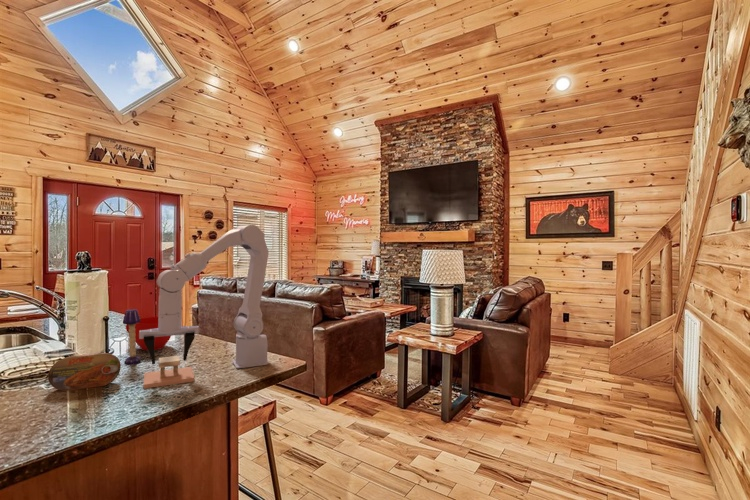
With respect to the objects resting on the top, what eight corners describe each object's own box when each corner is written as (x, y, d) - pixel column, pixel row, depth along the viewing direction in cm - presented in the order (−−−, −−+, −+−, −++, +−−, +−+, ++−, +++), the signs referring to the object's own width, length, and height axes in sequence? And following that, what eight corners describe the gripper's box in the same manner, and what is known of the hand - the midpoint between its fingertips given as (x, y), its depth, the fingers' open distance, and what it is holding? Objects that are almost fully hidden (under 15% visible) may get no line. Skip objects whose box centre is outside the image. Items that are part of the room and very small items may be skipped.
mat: (191, 370, 113) (191, 366, 113) (194, 381, 104) (194, 377, 104) (144, 376, 107) (144, 372, 107) (143, 388, 98) (143, 384, 98)
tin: (47, 393, 94) (47, 359, 93) (51, 388, 96) (51, 356, 96) (119, 384, 101) (120, 353, 100) (121, 380, 103) (121, 349, 103)
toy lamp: (131, 365, 115) (132, 311, 115) (118, 364, 116) (119, 310, 115) (143, 361, 120) (144, 308, 119) (131, 359, 120) (132, 308, 120)
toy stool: (178, 371, 109) (178, 355, 109) (179, 376, 104) (179, 360, 104) (158, 373, 106) (159, 357, 106) (158, 379, 102) (159, 363, 102)
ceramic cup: (140, 341, 142) (140, 315, 142) (181, 344, 140) (181, 317, 139) (111, 351, 129) (112, 322, 129) (156, 354, 127) (156, 324, 127)
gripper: (197, 309, 112) (196, 354, 112) (140, 312, 105) (139, 360, 105) (199, 313, 106) (198, 361, 106) (139, 317, 99) (138, 368, 99)
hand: (169, 361), depth 105 cm, fingers open, 7 cm apart
